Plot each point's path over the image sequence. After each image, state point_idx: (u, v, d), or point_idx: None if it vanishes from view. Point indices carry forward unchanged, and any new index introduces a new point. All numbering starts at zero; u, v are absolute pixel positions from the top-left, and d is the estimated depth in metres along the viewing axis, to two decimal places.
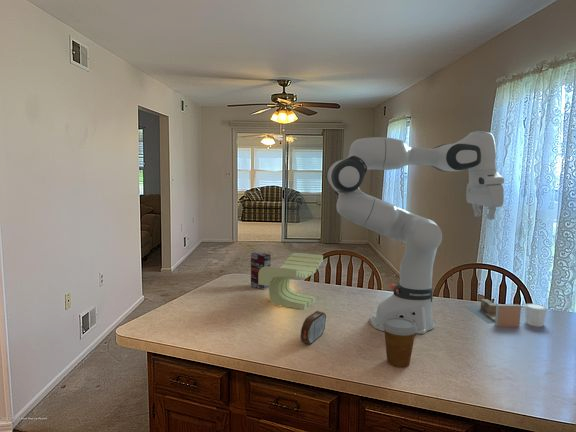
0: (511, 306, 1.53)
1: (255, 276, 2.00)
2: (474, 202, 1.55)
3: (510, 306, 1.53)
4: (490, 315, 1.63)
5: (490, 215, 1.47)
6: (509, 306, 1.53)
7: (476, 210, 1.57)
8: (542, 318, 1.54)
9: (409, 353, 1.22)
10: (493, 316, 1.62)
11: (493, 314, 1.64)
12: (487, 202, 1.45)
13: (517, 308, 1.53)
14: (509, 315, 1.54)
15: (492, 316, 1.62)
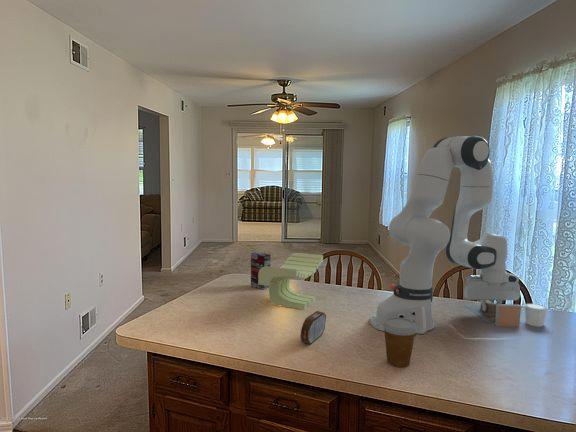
0: (511, 306, 1.53)
1: (255, 276, 2.00)
2: (485, 298, 1.65)
3: (510, 306, 1.53)
4: (490, 315, 1.63)
5: None
6: (509, 306, 1.53)
7: None
8: (542, 318, 1.54)
9: (409, 353, 1.22)
10: (493, 316, 1.62)
11: (493, 314, 1.64)
12: (511, 296, 1.65)
13: (517, 308, 1.53)
14: (509, 315, 1.54)
15: (492, 316, 1.62)
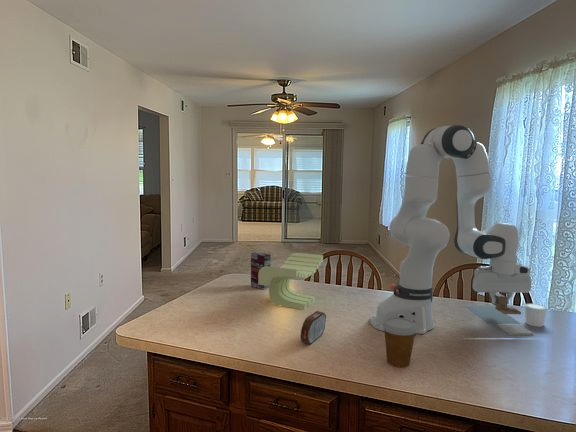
0: None
1: (255, 276, 2.00)
2: (495, 290, 1.57)
3: None
4: (500, 308, 1.55)
5: None
6: None
7: None
8: (542, 318, 1.54)
9: (409, 353, 1.22)
10: (503, 309, 1.54)
11: (503, 307, 1.56)
12: (522, 289, 1.57)
13: None
14: None
15: (502, 309, 1.54)
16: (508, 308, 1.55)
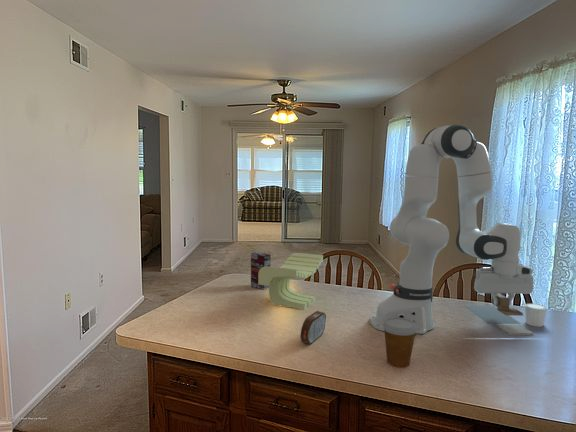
0: None
1: (255, 276, 2.00)
2: (497, 291, 1.56)
3: None
4: (502, 309, 1.54)
5: None
6: None
7: None
8: (542, 318, 1.54)
9: (409, 353, 1.22)
10: (505, 310, 1.53)
11: (505, 308, 1.55)
12: (524, 290, 1.56)
13: None
14: None
15: (504, 310, 1.53)
16: (510, 309, 1.54)
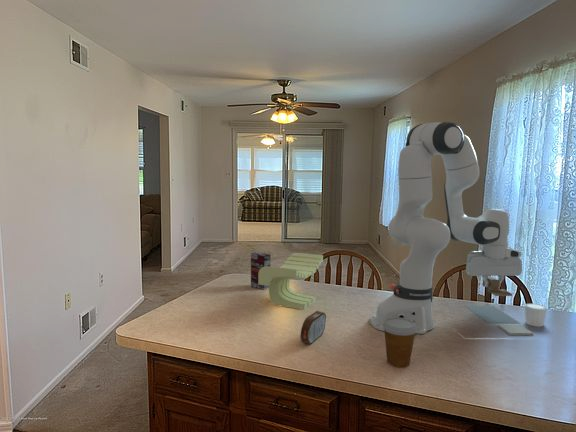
0: None
1: (255, 276, 2.00)
2: (487, 274, 1.64)
3: None
4: (492, 290, 1.62)
5: None
6: None
7: None
8: (542, 318, 1.54)
9: (409, 353, 1.22)
10: (495, 291, 1.61)
11: (495, 289, 1.63)
12: (513, 272, 1.64)
13: None
14: None
15: (494, 291, 1.61)
16: (500, 290, 1.62)
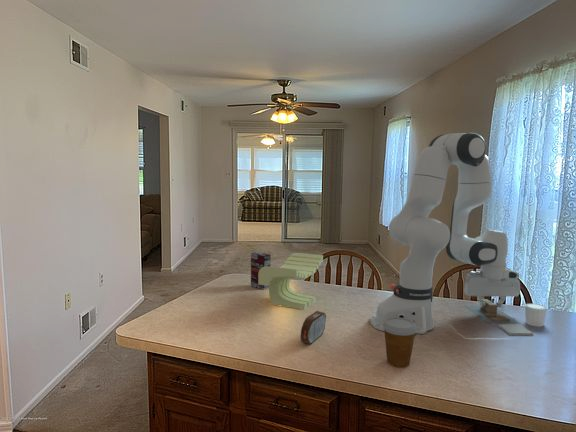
0: None
1: (255, 276, 2.00)
2: (485, 294, 1.65)
3: None
4: (490, 315, 1.63)
5: None
6: None
7: None
8: (542, 318, 1.54)
9: (409, 353, 1.22)
10: (493, 316, 1.62)
11: (493, 314, 1.64)
12: (511, 293, 1.65)
13: None
14: None
15: (492, 316, 1.62)
16: (497, 315, 1.63)
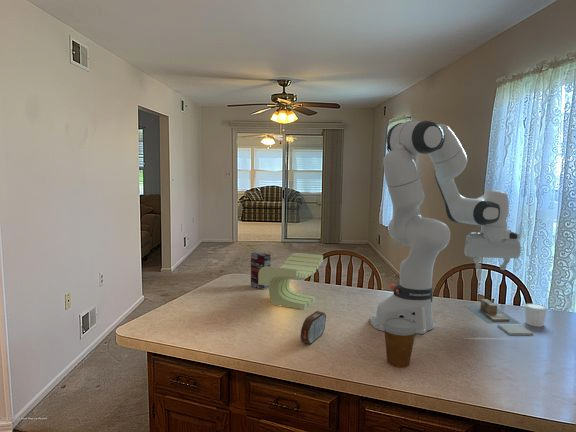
0: None
1: (255, 276, 2.00)
2: (485, 255, 1.63)
3: None
4: (490, 315, 1.63)
5: None
6: None
7: None
8: (542, 318, 1.54)
9: (409, 353, 1.22)
10: (493, 316, 1.62)
11: (493, 314, 1.64)
12: (511, 254, 1.63)
13: None
14: None
15: (492, 316, 1.62)
16: (497, 315, 1.63)
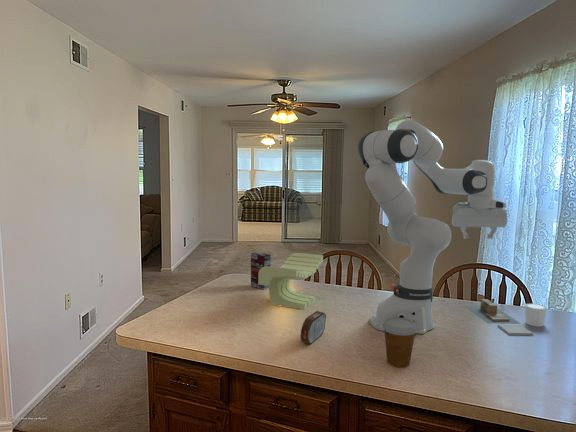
0: None
1: (255, 276, 2.00)
2: (472, 225, 1.65)
3: None
4: (490, 315, 1.63)
5: None
6: None
7: None
8: (542, 318, 1.54)
9: (409, 353, 1.22)
10: (493, 316, 1.62)
11: (493, 314, 1.64)
12: (498, 223, 1.65)
13: None
14: None
15: (492, 316, 1.62)
16: (497, 315, 1.63)
